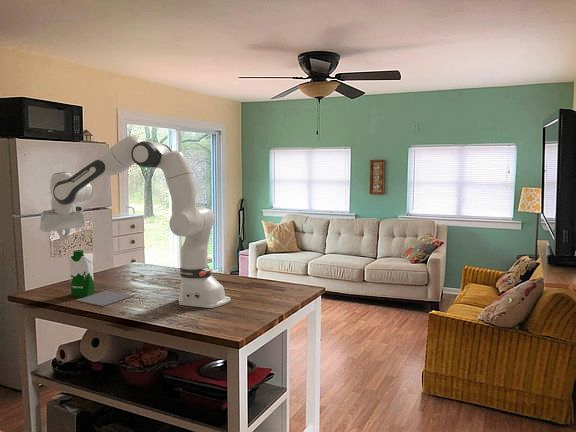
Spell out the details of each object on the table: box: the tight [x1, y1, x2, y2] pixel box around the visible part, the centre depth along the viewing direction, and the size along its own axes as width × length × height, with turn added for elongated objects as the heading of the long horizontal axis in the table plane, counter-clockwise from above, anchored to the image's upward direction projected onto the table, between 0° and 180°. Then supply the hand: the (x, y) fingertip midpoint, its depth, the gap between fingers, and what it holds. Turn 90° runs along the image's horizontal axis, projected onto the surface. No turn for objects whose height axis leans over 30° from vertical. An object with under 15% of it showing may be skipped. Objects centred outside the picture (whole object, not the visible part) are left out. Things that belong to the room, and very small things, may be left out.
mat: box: [75, 290, 134, 307], centre depth 205 cm, size 17×16×1 cm
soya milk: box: [67, 249, 95, 298], centre depth 210 cm, size 9×9×20 cm
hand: (64, 239), depth 214 cm, fingers closed
